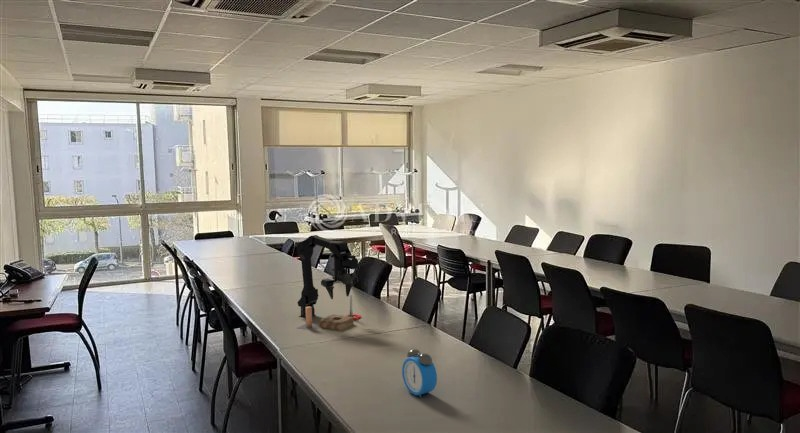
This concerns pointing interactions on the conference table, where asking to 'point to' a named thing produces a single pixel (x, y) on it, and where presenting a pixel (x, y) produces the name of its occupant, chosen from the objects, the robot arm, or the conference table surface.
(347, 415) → the conference table surface
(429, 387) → the alarm clock
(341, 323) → the socket block
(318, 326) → the mat
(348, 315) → the tow hook
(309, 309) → the peg
